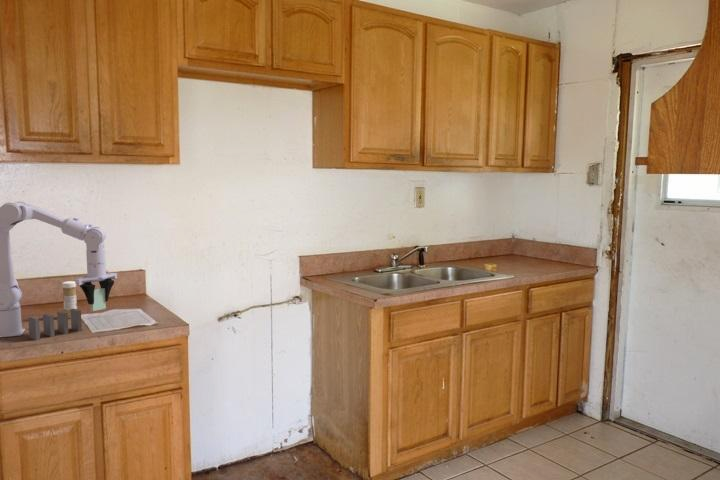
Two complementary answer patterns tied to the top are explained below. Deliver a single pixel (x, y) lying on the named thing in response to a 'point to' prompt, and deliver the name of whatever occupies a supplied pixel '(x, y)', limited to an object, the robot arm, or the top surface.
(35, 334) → the domino
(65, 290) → the sprinkles bottle
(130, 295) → the top surface
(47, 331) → the domino
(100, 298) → the green domino
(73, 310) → the domino
